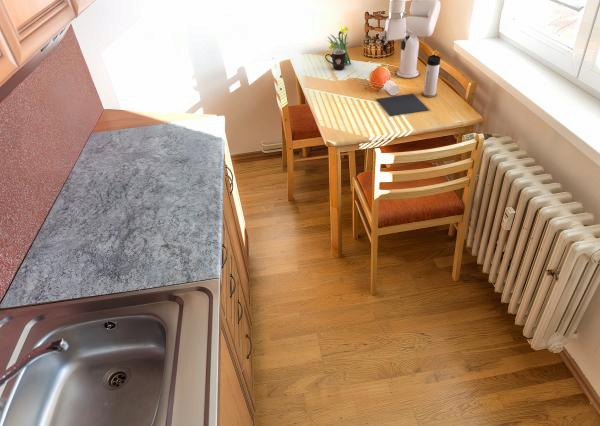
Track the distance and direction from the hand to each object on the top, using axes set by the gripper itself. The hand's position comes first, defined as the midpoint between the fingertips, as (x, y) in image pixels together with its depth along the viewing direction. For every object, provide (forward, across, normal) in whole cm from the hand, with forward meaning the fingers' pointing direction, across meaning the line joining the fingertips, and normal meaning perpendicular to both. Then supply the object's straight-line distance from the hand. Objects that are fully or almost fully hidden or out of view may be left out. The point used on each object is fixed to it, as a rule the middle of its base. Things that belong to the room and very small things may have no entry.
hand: (393, 50), depth 228 cm
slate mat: (+22, 0, +17) cm, 28 cm away
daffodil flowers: (+22, +9, -60) cm, 65 cm away
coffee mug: (+22, +18, -44) cm, 52 cm away
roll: (+22, 0, -1) cm, 22 cm away
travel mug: (+22, -18, +10) cm, 30 cm away
